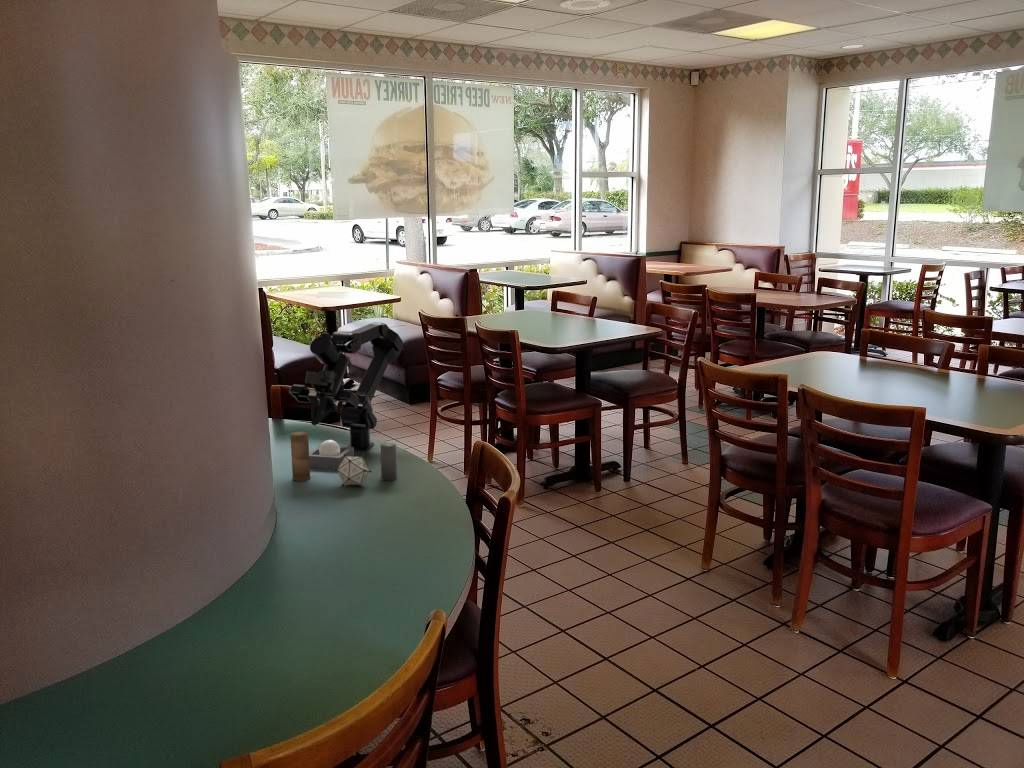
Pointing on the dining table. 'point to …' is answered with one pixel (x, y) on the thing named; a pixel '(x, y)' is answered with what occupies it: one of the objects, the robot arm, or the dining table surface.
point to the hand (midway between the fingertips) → (313, 424)
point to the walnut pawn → (300, 456)
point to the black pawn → (388, 461)
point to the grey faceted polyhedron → (353, 470)
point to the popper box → (329, 458)
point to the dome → (329, 448)
